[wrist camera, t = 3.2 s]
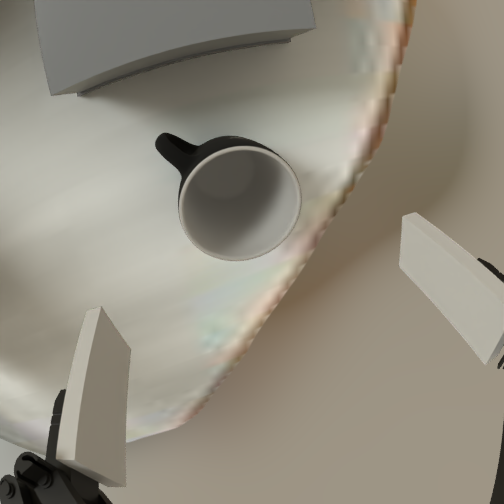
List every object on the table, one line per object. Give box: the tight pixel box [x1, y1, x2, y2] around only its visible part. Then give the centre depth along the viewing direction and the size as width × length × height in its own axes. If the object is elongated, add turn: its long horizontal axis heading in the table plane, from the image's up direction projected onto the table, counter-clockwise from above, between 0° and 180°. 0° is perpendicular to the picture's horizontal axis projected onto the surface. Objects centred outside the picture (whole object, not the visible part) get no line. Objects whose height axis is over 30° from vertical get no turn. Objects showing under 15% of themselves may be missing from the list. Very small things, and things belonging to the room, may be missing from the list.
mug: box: [155, 133, 301, 261], centre depth 25 cm, size 12×9×10 cm
